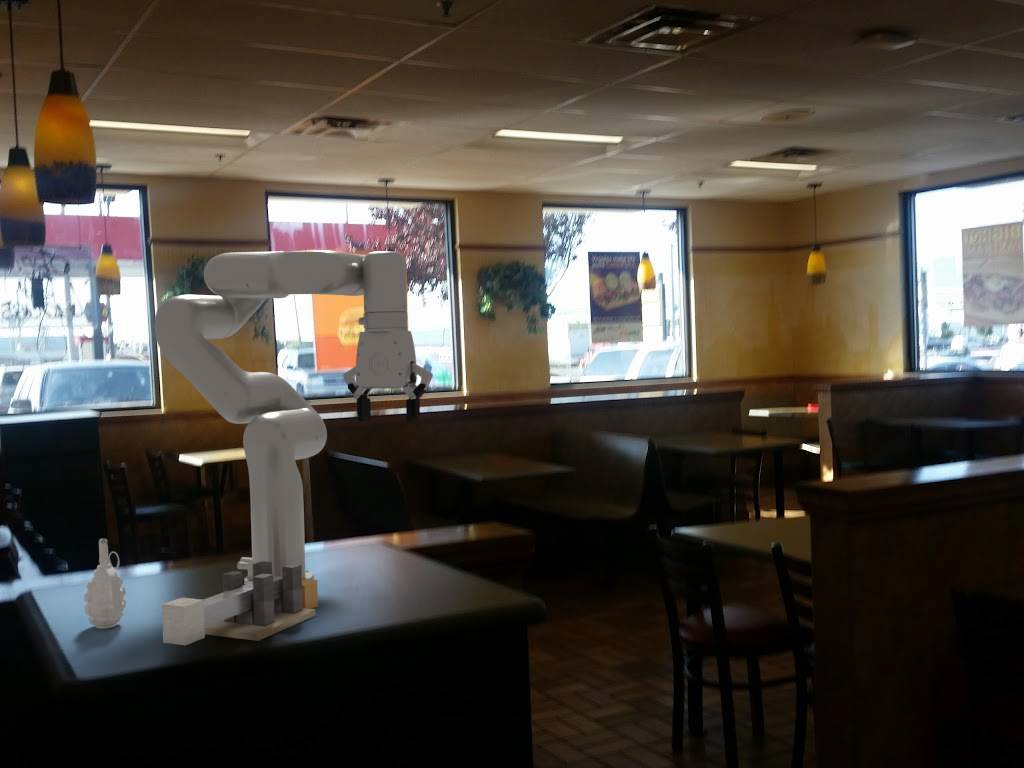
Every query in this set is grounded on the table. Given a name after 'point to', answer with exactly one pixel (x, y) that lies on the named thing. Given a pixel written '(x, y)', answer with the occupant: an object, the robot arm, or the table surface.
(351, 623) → the table surface
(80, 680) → the table surface
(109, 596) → the hand grenade
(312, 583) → the block
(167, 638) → the block ended bar
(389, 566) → the table surface
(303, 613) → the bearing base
